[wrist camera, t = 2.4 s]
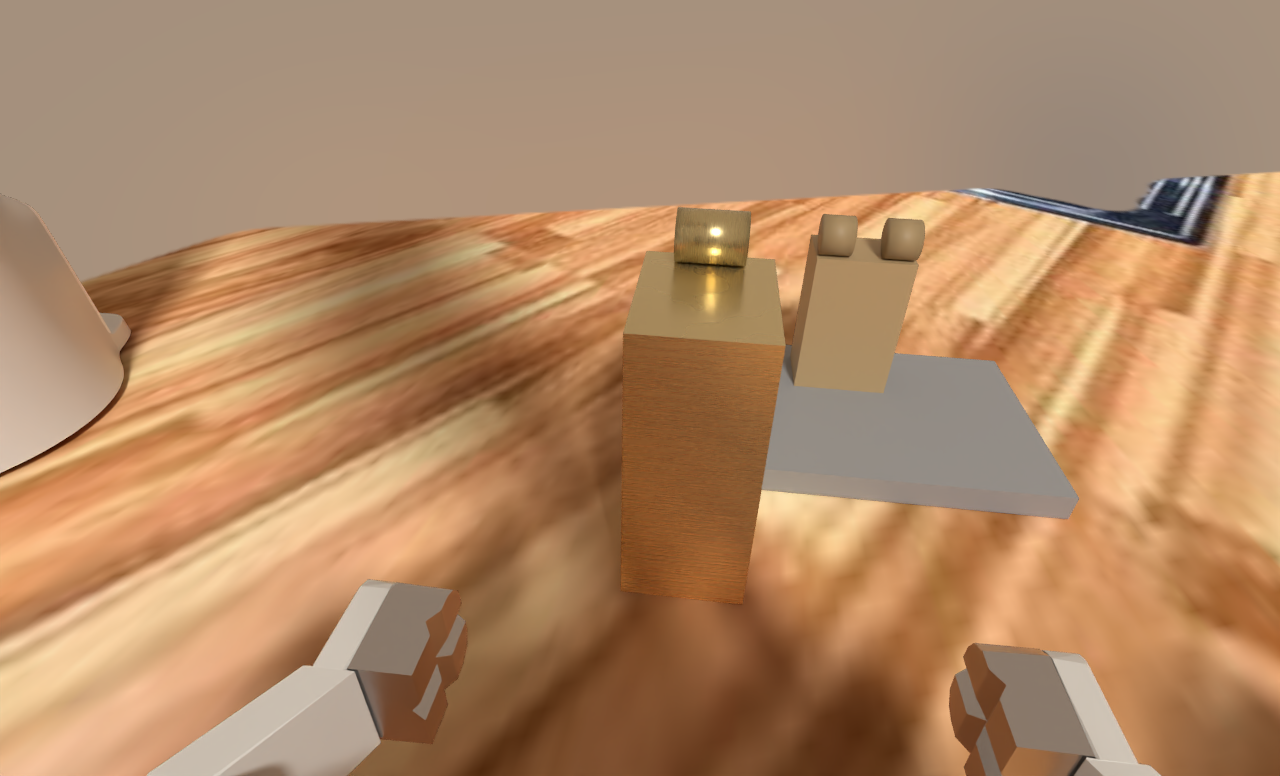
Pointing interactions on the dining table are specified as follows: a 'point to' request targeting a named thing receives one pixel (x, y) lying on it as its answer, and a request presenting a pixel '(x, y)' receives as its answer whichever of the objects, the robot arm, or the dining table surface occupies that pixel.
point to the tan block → (698, 409)
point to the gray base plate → (896, 396)
